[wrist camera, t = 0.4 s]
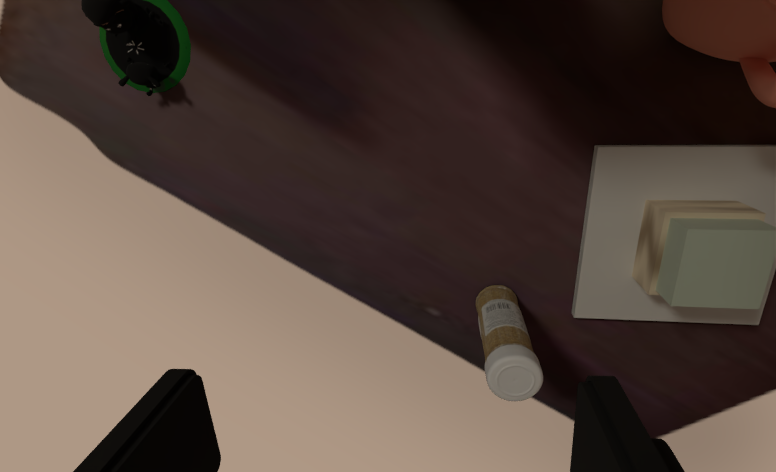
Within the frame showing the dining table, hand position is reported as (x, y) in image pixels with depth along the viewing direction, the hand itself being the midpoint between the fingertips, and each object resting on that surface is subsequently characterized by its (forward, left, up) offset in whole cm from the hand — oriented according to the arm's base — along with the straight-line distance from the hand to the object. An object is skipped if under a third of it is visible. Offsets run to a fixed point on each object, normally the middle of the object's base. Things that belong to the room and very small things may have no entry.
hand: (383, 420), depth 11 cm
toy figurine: (-11, -28, -36) cm, 47 cm away
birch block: (+8, +25, -35) cm, 43 cm away
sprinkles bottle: (+16, +8, -36) cm, 40 cm away
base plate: (+8, +25, -36) cm, 44 cm away
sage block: (+8, +25, -31) cm, 40 cm away
